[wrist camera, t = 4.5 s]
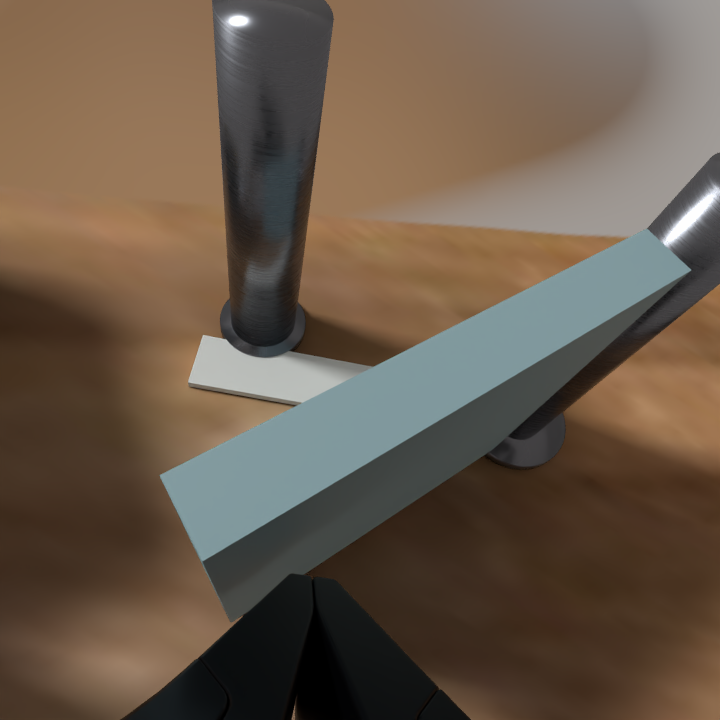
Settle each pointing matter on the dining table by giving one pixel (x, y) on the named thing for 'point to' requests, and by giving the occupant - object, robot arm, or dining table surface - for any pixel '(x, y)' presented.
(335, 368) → the strip
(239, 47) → the post
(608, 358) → the hinge post
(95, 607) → the dining table surface
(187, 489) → the gate
